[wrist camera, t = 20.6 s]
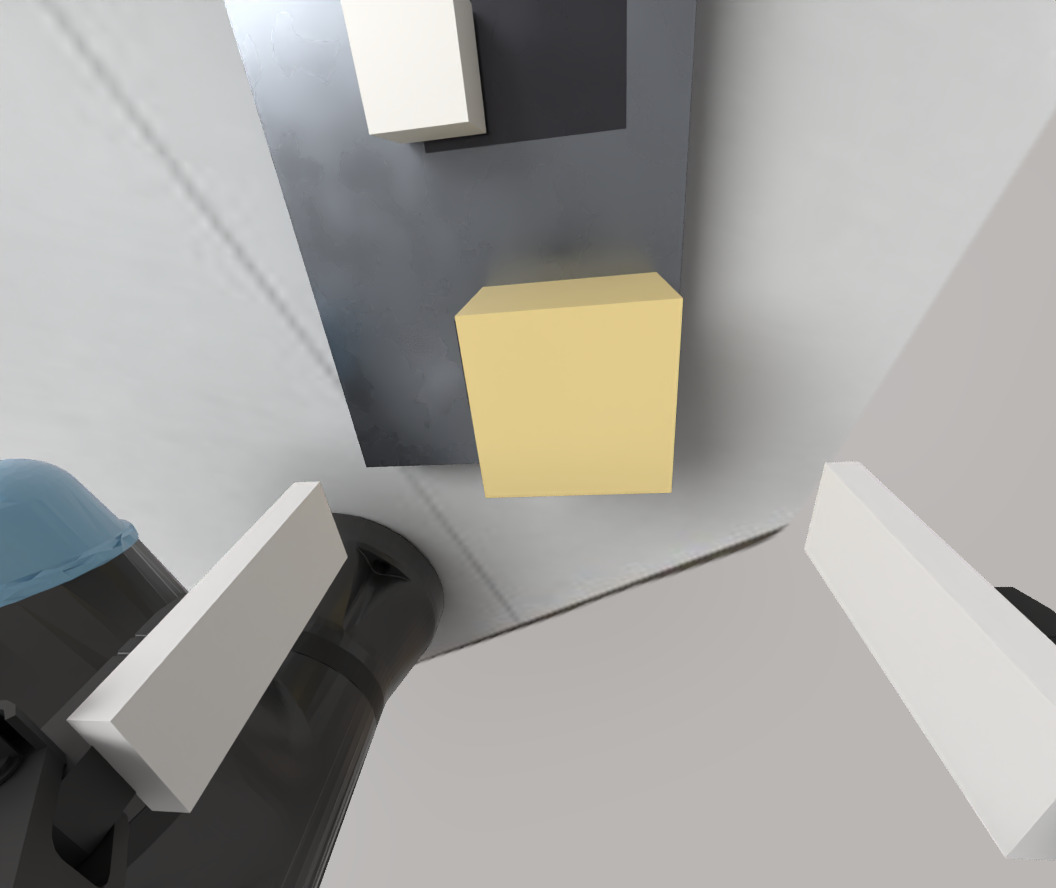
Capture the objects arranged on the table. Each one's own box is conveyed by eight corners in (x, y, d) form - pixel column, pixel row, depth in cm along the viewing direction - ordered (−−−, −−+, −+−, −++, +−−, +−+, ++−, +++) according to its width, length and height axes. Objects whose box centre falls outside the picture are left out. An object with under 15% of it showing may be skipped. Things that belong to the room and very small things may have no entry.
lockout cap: (651, 429, 25) (671, 492, 20) (503, 436, 26) (485, 498, 21) (656, 271, 21) (683, 298, 16) (483, 287, 22) (454, 316, 17)
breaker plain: (486, 133, 19) (468, 121, 16) (402, 143, 19) (369, 134, 16) (471, 4, 17) (447, -38, 14) (379, 19, 18) (336, -18, 14)
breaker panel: (661, 432, 28) (670, 456, 26) (384, 443, 31) (366, 467, 28) (686, -103, 18) (705, -155, 15) (255, -24, 20) (206, -57, 17)
